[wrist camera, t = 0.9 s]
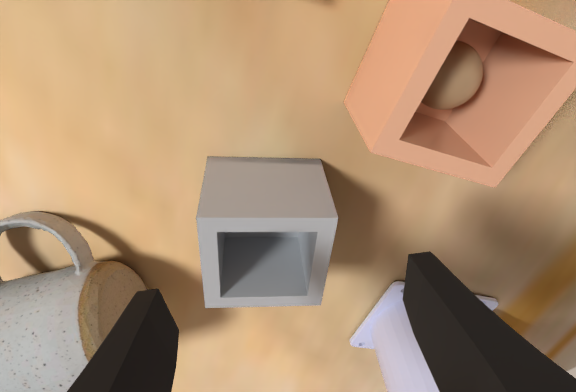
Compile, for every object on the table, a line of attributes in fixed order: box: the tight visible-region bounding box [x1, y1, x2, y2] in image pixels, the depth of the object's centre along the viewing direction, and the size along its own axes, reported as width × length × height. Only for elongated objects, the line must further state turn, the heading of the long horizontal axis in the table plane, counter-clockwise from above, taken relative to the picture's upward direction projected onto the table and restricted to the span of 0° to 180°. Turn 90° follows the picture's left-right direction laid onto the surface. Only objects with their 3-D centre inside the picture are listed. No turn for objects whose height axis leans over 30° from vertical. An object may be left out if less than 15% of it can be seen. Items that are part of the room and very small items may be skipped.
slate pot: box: [196, 157, 338, 308], centre depth 19 cm, size 6×6×5 cm
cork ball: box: [421, 40, 483, 110], centre depth 15 cm, size 3×3×3 cm
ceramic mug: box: [0, 212, 147, 392], centre depth 20 cm, size 11×8×8 cm
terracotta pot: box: [344, 0, 576, 188], centre depth 15 cm, size 6×6×5 cm
